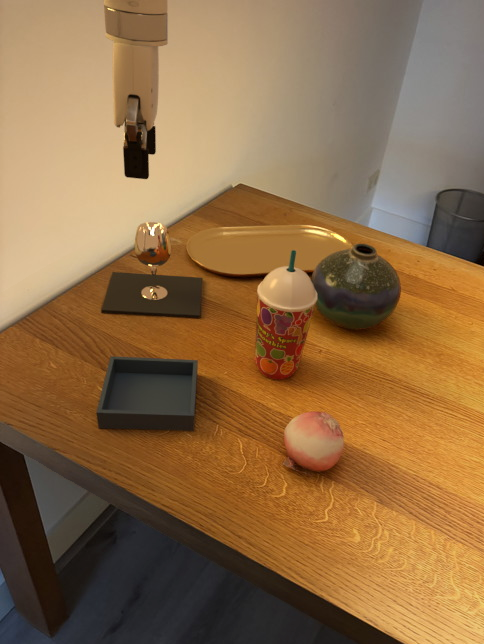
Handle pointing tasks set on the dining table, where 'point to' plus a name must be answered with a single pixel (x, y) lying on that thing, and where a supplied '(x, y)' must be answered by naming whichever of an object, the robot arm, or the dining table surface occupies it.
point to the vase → (356, 288)
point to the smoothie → (283, 319)
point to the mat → (129, 300)
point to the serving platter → (262, 248)
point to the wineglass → (153, 254)
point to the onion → (313, 441)
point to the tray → (148, 394)
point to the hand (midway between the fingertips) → (141, 164)
